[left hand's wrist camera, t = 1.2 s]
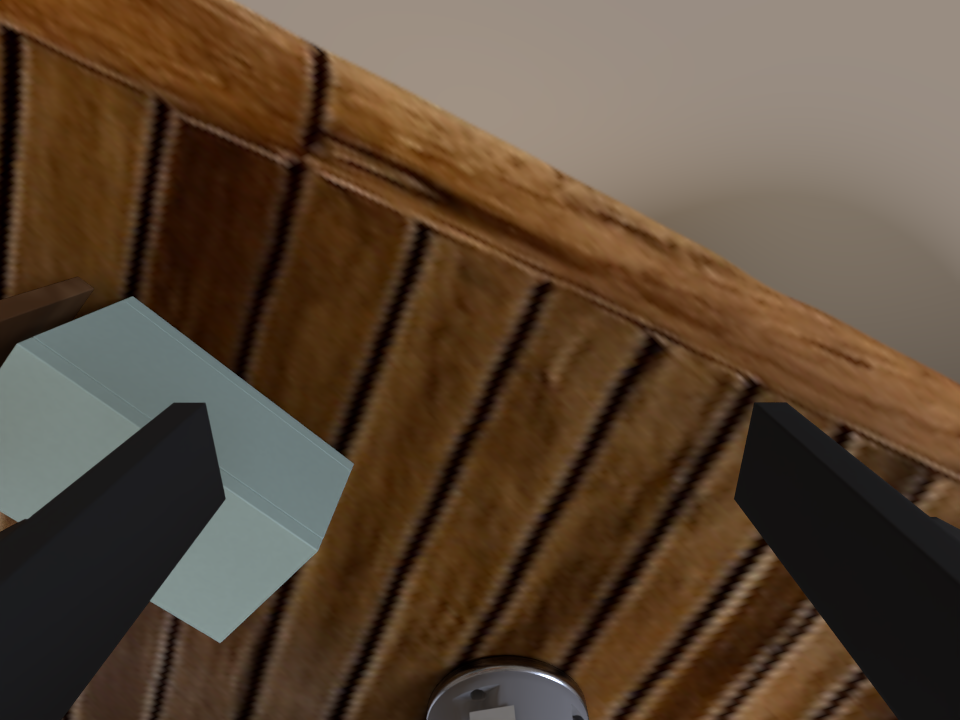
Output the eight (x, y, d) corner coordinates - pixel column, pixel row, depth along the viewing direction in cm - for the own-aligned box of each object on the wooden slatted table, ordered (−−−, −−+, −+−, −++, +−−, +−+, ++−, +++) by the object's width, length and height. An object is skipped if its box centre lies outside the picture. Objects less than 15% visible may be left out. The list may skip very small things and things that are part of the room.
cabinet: (58, 397, 38) (-70, 470, 29) (132, 295, 35) (16, 343, 26) (274, 542, 43) (220, 643, 34) (354, 463, 40) (318, 551, 31)
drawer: (-66, 318, 35) (-202, 359, 28) (-4, 214, 32) (-137, 231, 25) (228, 517, 41) (176, 591, 34) (300, 441, 38) (260, 505, 31)
